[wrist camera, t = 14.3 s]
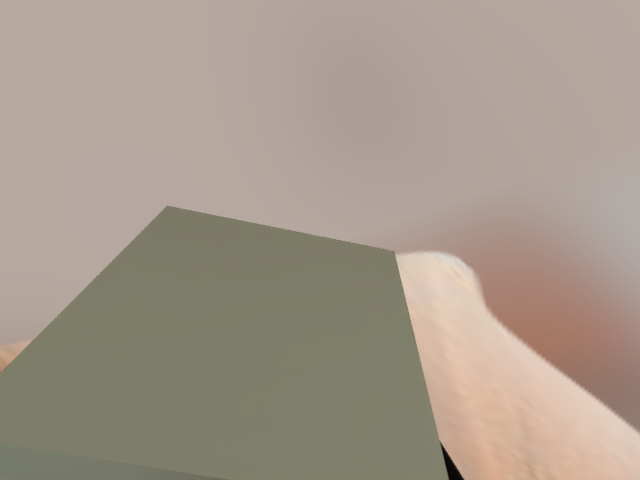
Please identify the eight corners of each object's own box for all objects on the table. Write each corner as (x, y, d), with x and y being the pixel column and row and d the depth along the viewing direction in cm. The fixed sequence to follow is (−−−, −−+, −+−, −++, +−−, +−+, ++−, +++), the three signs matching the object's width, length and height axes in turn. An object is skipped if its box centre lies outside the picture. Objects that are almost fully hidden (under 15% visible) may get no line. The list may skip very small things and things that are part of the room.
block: (170, 362, 10) (44, 607, 6) (167, 205, 8) (-60, 433, 3) (342, 392, 10) (343, 648, 6) (394, 251, 8) (457, 516, 4)
